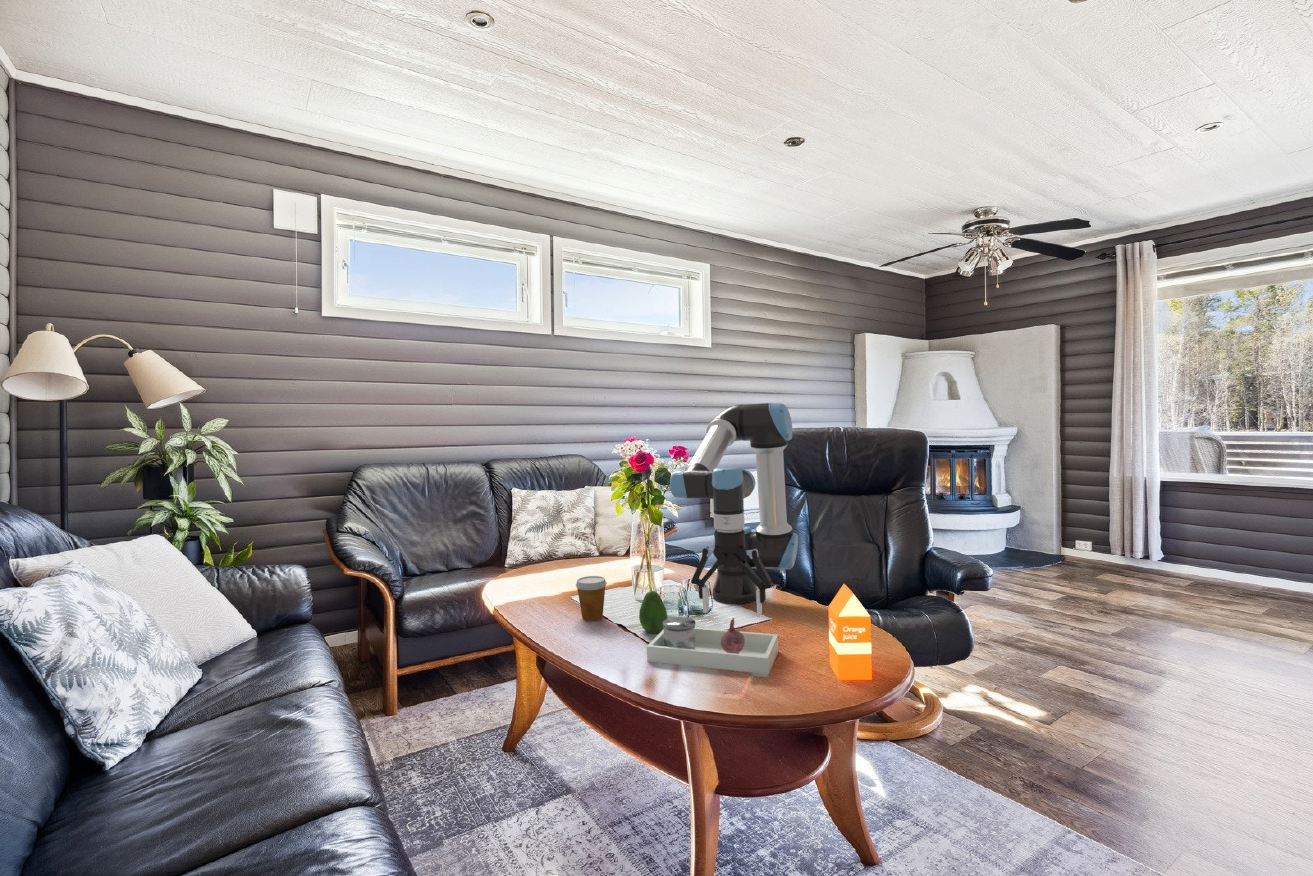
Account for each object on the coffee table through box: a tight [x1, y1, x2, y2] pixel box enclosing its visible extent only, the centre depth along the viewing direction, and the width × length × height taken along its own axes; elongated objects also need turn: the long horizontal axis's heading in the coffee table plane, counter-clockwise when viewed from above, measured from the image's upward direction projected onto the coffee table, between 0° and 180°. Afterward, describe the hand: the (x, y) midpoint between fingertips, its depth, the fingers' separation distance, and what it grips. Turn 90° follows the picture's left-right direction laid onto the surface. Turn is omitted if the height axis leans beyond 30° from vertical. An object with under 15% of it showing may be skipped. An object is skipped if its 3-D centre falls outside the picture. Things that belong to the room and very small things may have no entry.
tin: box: [663, 616, 696, 649], centre depth 160 cm, size 8×8×8 cm
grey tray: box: [646, 627, 780, 678], centre depth 157 cm, size 16×30×4 cm, turn 70°
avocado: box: [638, 590, 668, 634], centre depth 176 cm, size 8×8×12 cm
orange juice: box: [828, 583, 873, 681], centre depth 146 cm, size 8×9×20 cm
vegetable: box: [721, 617, 745, 654], centre depth 155 cm, size 6×6×10 cm
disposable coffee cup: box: [575, 575, 607, 622], centre depth 192 cm, size 10×10×12 cm
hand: (732, 613), depth 156 cm, fingers open, 13 cm apart
